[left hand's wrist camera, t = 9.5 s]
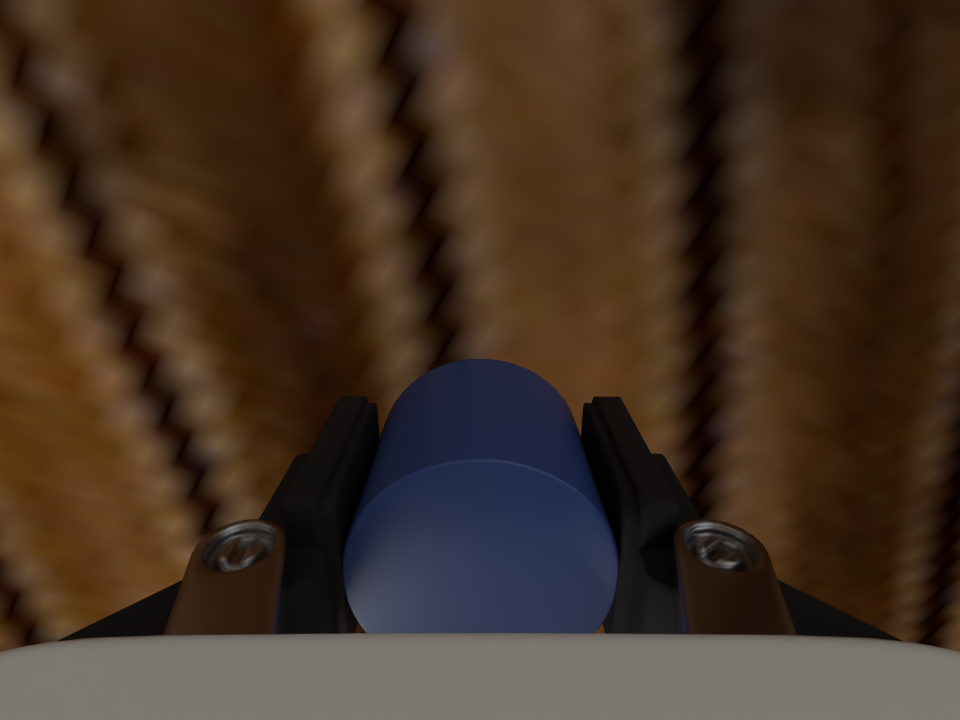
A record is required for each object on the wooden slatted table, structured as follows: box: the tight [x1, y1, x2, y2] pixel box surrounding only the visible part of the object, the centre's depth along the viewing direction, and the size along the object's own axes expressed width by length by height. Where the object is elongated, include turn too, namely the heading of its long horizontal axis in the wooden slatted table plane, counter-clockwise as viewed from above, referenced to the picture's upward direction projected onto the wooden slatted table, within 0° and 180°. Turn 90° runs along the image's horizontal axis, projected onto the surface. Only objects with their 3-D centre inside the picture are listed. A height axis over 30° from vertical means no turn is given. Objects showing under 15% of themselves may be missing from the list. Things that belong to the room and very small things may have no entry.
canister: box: [342, 359, 619, 634], centre depth 11 cm, size 4×4×4 cm
